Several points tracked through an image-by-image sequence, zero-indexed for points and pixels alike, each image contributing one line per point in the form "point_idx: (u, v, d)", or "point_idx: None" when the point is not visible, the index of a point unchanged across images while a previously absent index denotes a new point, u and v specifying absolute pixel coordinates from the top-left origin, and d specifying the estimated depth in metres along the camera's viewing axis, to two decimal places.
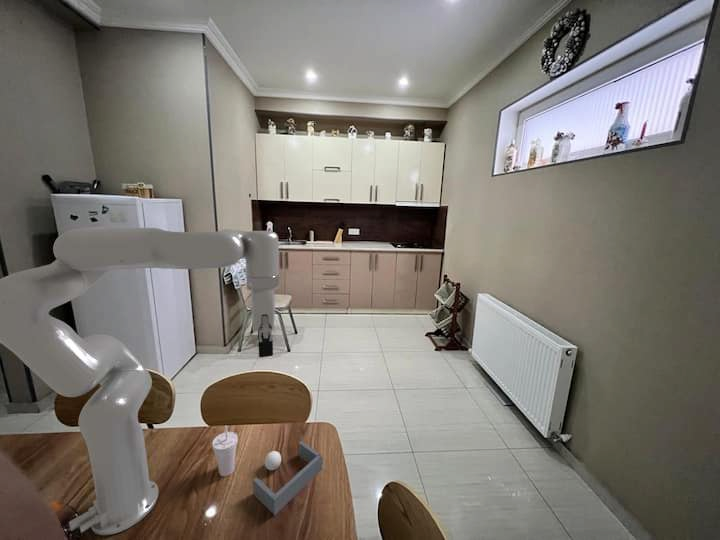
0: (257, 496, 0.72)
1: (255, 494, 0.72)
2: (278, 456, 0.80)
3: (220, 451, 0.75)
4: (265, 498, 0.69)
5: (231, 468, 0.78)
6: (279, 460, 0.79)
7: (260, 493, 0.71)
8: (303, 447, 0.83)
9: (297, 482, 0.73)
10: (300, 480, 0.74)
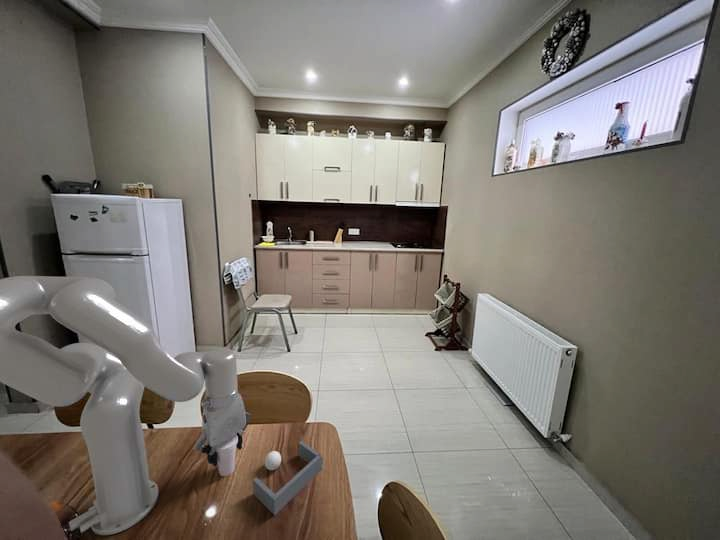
0: (257, 496, 0.72)
1: (255, 494, 0.72)
2: (278, 456, 0.80)
3: (220, 451, 0.75)
4: (265, 498, 0.69)
5: (231, 468, 0.78)
6: (279, 460, 0.79)
7: (260, 493, 0.71)
8: (303, 447, 0.83)
9: (297, 482, 0.73)
10: (300, 480, 0.74)
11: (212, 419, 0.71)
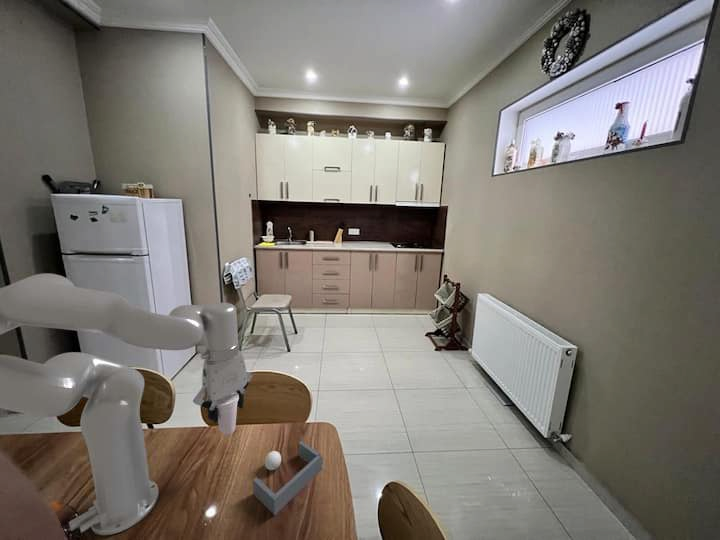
0: (257, 496, 0.72)
1: (255, 494, 0.72)
2: (278, 456, 0.80)
3: (221, 407, 0.73)
4: (265, 498, 0.69)
5: (232, 426, 0.76)
6: (279, 460, 0.79)
7: (260, 493, 0.71)
8: (303, 447, 0.83)
9: (297, 482, 0.73)
10: (300, 480, 0.74)
11: (212, 372, 0.69)
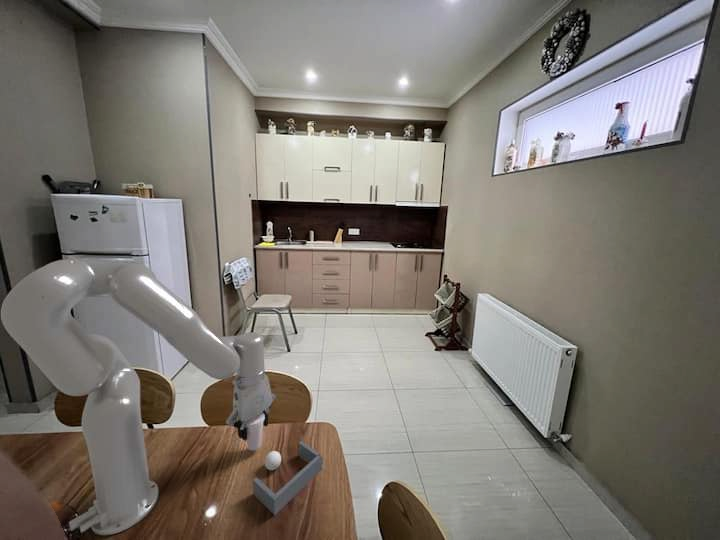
0: (257, 496, 0.72)
1: (255, 494, 0.72)
2: (278, 456, 0.80)
3: (250, 426, 0.81)
4: (265, 498, 0.69)
5: (259, 443, 0.85)
6: (279, 460, 0.79)
7: (260, 493, 0.71)
8: (303, 447, 0.83)
9: (297, 482, 0.73)
10: (300, 480, 0.74)
11: (243, 396, 0.78)
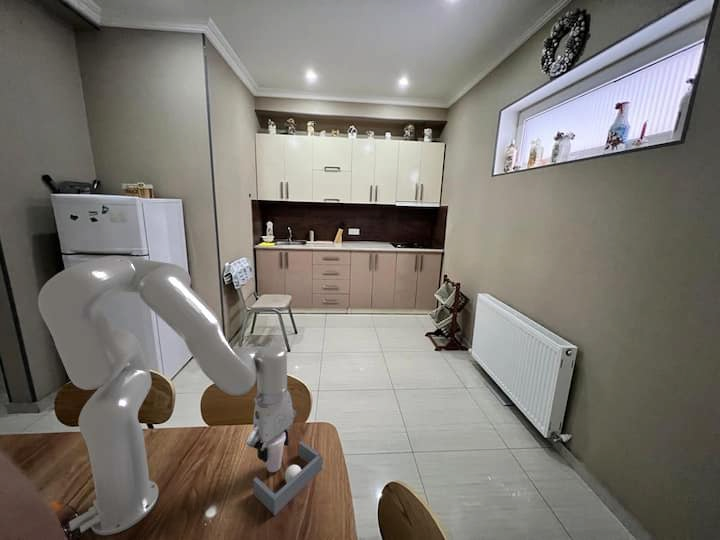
0: (257, 496, 0.72)
1: (255, 494, 0.72)
2: None
3: (270, 447, 0.75)
4: (265, 498, 0.69)
5: (279, 464, 0.79)
6: None
7: (260, 493, 0.71)
8: (303, 447, 0.83)
9: (297, 482, 0.73)
10: (300, 480, 0.74)
11: (265, 415, 0.72)
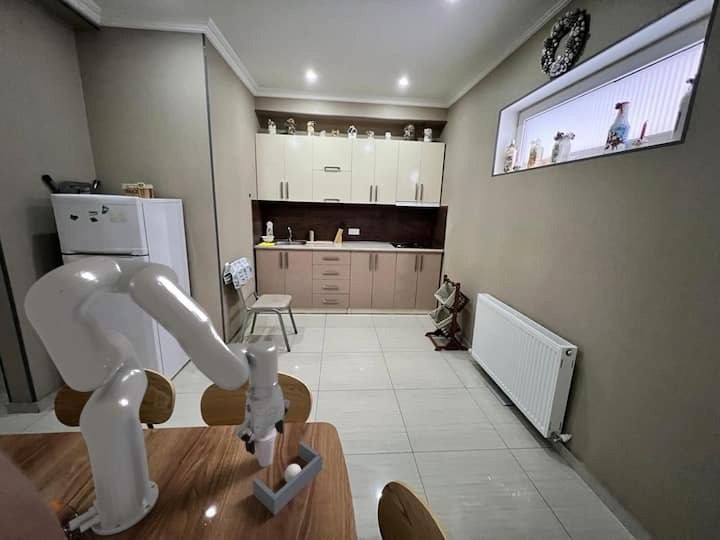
0: (257, 496, 0.72)
1: (255, 494, 0.72)
2: None
3: (261, 442, 0.78)
4: (265, 498, 0.69)
5: (270, 459, 0.81)
6: None
7: (260, 493, 0.71)
8: (303, 447, 0.83)
9: (297, 482, 0.73)
10: (300, 480, 0.74)
11: (256, 408, 0.74)
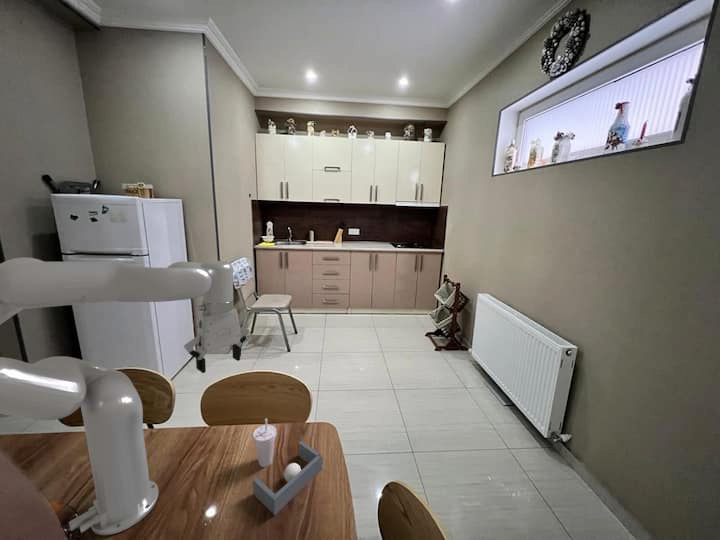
0: (257, 496, 0.72)
1: (255, 494, 0.72)
2: None
3: (261, 442, 0.78)
4: (265, 498, 0.69)
5: (270, 459, 0.81)
6: None
7: (260, 493, 0.71)
8: (303, 447, 0.83)
9: (297, 482, 0.73)
10: (300, 480, 0.74)
11: (207, 323, 0.74)
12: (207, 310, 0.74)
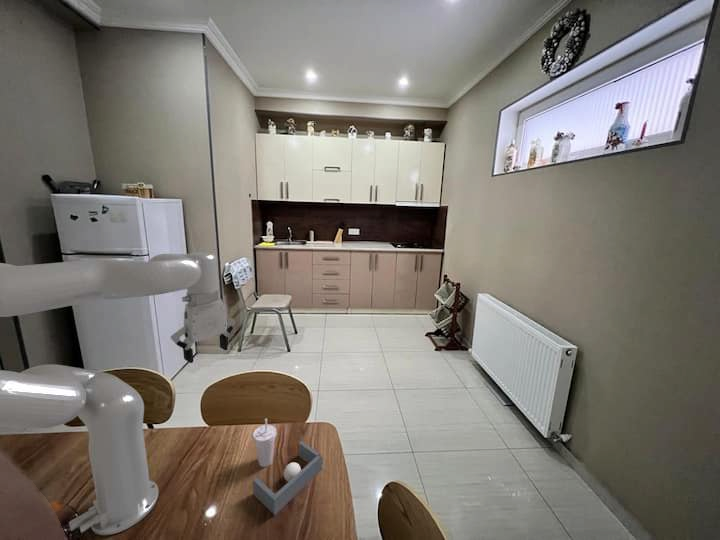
0: (257, 496, 0.72)
1: (255, 494, 0.72)
2: None
3: (261, 442, 0.78)
4: (265, 498, 0.69)
5: (270, 459, 0.81)
6: None
7: (260, 493, 0.71)
8: (303, 447, 0.83)
9: (297, 482, 0.73)
10: (300, 480, 0.74)
11: (193, 314, 0.75)
12: (192, 301, 0.75)
